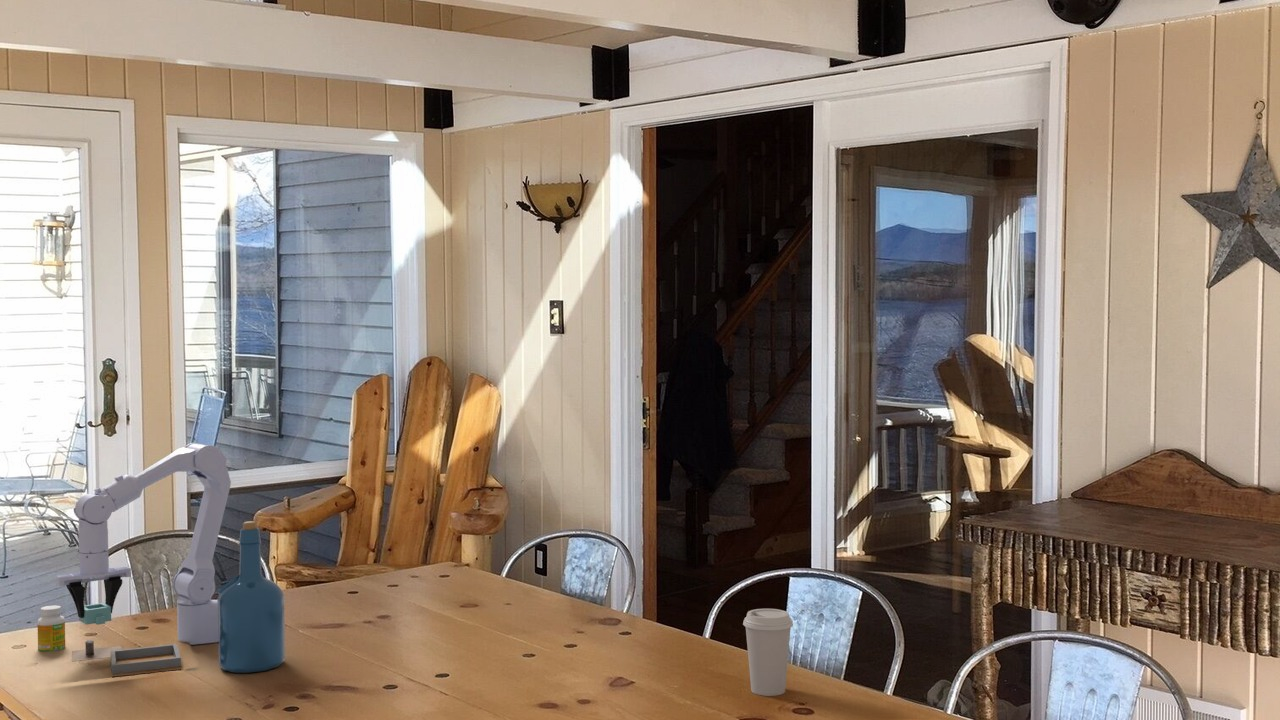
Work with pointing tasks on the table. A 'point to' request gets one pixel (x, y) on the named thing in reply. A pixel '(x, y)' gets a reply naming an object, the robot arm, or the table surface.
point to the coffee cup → (768, 650)
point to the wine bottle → (250, 613)
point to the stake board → (97, 653)
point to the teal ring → (96, 614)
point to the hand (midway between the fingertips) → (95, 614)
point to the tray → (145, 664)
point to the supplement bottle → (51, 629)
